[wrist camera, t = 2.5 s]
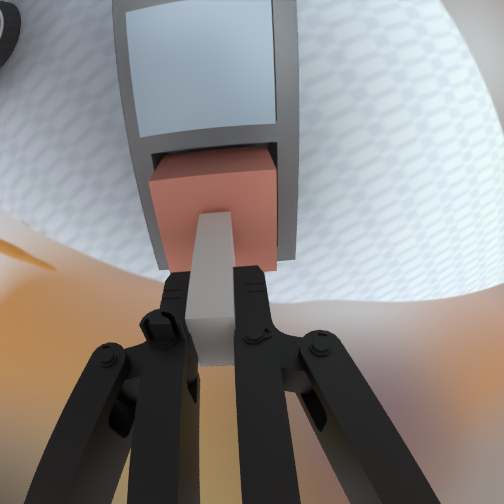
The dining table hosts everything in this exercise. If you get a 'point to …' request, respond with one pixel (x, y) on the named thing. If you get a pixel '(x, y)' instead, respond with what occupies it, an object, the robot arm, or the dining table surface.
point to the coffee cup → (8, 29)
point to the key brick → (218, 202)
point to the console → (271, 135)
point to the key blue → (202, 65)
